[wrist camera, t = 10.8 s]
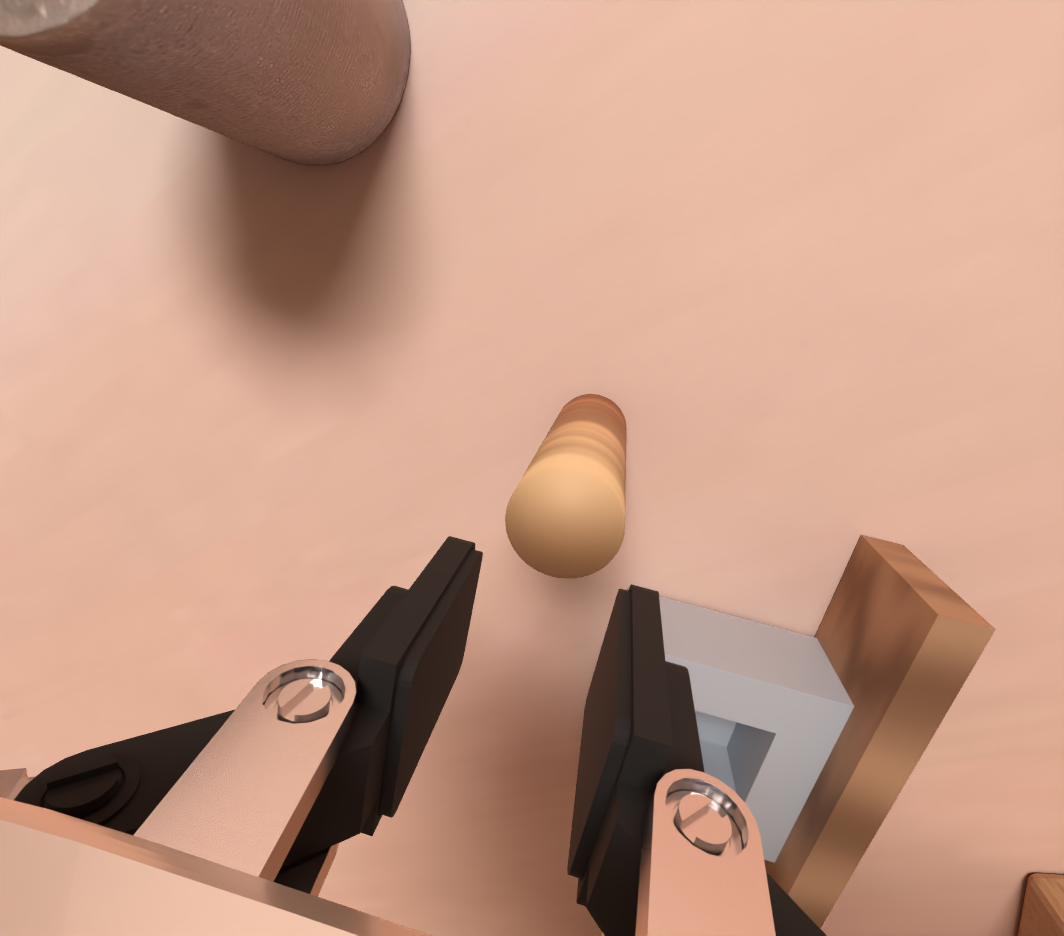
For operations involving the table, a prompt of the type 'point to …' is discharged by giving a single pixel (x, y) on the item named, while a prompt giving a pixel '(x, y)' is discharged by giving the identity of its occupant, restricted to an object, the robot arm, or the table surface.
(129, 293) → the table surface
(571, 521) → the oak dowel
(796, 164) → the table surface
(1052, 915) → the wooden block
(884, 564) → the walnut wall
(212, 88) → the pillar candle
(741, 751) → the socket block
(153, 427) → the table surface
